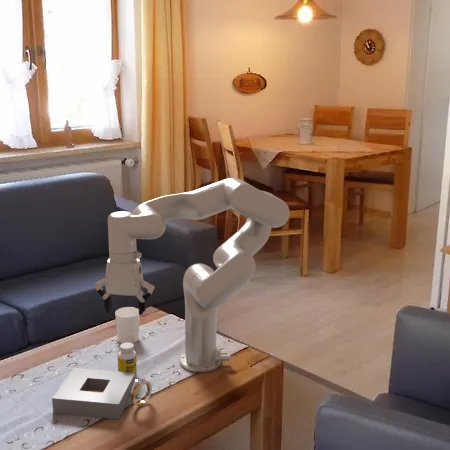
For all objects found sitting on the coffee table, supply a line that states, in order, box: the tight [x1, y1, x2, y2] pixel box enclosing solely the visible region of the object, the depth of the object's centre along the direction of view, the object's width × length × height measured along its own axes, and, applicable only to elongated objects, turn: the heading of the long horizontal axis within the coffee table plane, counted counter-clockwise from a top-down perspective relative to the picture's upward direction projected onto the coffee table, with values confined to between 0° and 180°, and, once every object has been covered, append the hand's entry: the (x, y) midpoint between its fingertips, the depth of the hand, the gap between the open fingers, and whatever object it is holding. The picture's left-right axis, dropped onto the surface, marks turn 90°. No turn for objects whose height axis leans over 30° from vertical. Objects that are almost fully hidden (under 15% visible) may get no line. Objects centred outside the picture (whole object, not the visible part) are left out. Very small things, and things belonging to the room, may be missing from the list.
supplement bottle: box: [117, 342, 138, 377], centre depth 185 cm, size 5×5×10 cm
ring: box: [130, 377, 153, 407], centre depth 171 cm, size 7×3×8 cm, turn 137°
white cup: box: [115, 306, 141, 345], centre depth 207 cm, size 8×8×10 cm
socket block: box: [51, 367, 136, 420], centre depth 173 cm, size 18×16×4 cm
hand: (125, 312), depth 181 cm, fingers open, 9 cm apart
